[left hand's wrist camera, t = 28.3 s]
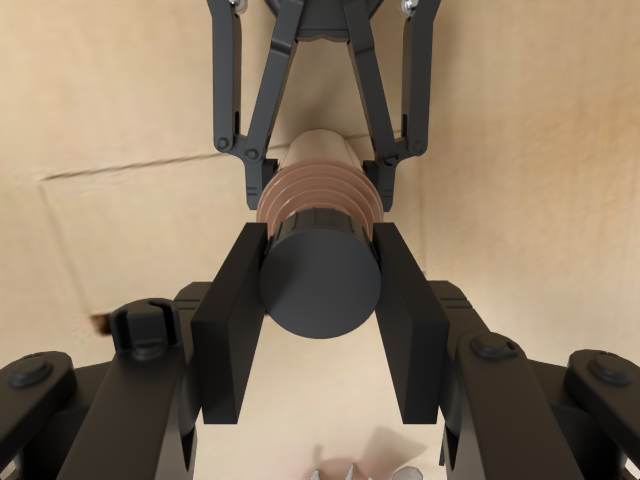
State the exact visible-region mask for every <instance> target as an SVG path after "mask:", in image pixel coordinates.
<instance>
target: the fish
mask: <svg viewBox="0 0 640 480" xmlns="http://www.w3.org/2000/svg"><path fill="white" fill-rule="evenodd" d="M353 467H354V465H353V464H352V465H351V468H350V470H349V472H348V474H347V477H346V479H345V480H352V476H353ZM310 480H320V476H319V471H318V470H316V471H315V472H314V473H313V475H312V477H311V479H310ZM368 480H373V479H372V478H371V477H369V478H368ZM392 480H423V475H422V474H421V472H420V471H419V469H418V468H414V467H408V466H406V467H404V468H402V469H400V470H398V471H397V472H396V473H394V474H393V477H392Z"/></svg>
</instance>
